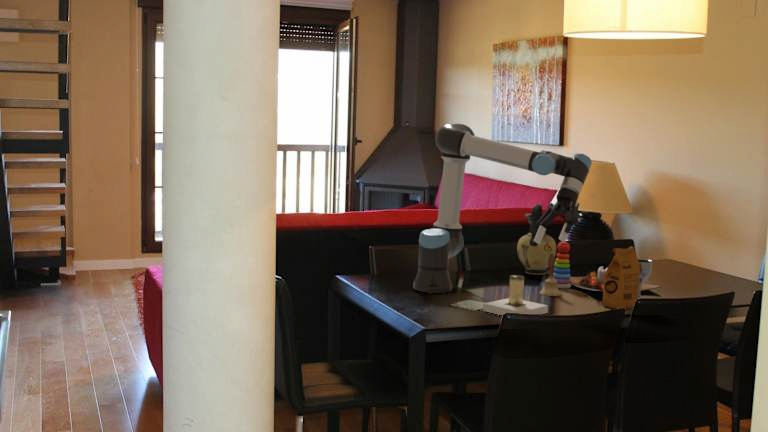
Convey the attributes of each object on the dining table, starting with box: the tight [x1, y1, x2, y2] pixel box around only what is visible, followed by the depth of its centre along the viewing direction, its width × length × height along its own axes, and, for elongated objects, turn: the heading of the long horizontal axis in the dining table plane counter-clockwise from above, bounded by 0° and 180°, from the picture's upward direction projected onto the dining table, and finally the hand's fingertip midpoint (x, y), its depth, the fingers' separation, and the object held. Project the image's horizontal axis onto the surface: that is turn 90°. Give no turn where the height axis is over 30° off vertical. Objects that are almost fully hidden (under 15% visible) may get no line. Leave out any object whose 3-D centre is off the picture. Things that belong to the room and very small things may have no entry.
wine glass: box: [638, 258, 653, 298], centre depth 336 cm, size 8×8×15 cm
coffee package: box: [601, 245, 640, 310], centre depth 321 cm, size 10×12×22 cm
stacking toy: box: [553, 241, 572, 290], centre depth 354 cm, size 8×8×19 cm
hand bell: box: [539, 253, 562, 297], centre depth 340 cm, size 8×8×16 cm
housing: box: [482, 297, 549, 316], centre depth 307 cm, size 16×16×3 cm
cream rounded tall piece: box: [516, 204, 557, 276], centre depth 384 cm, size 18×17×30 cm
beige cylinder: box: [508, 274, 525, 307], centre depth 306 cm, size 5×5×13 cm
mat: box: [457, 299, 485, 310], centre depth 315 cm, size 12×12×1 cm
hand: (548, 241), depth 318 cm, fingers open, 13 cm apart
